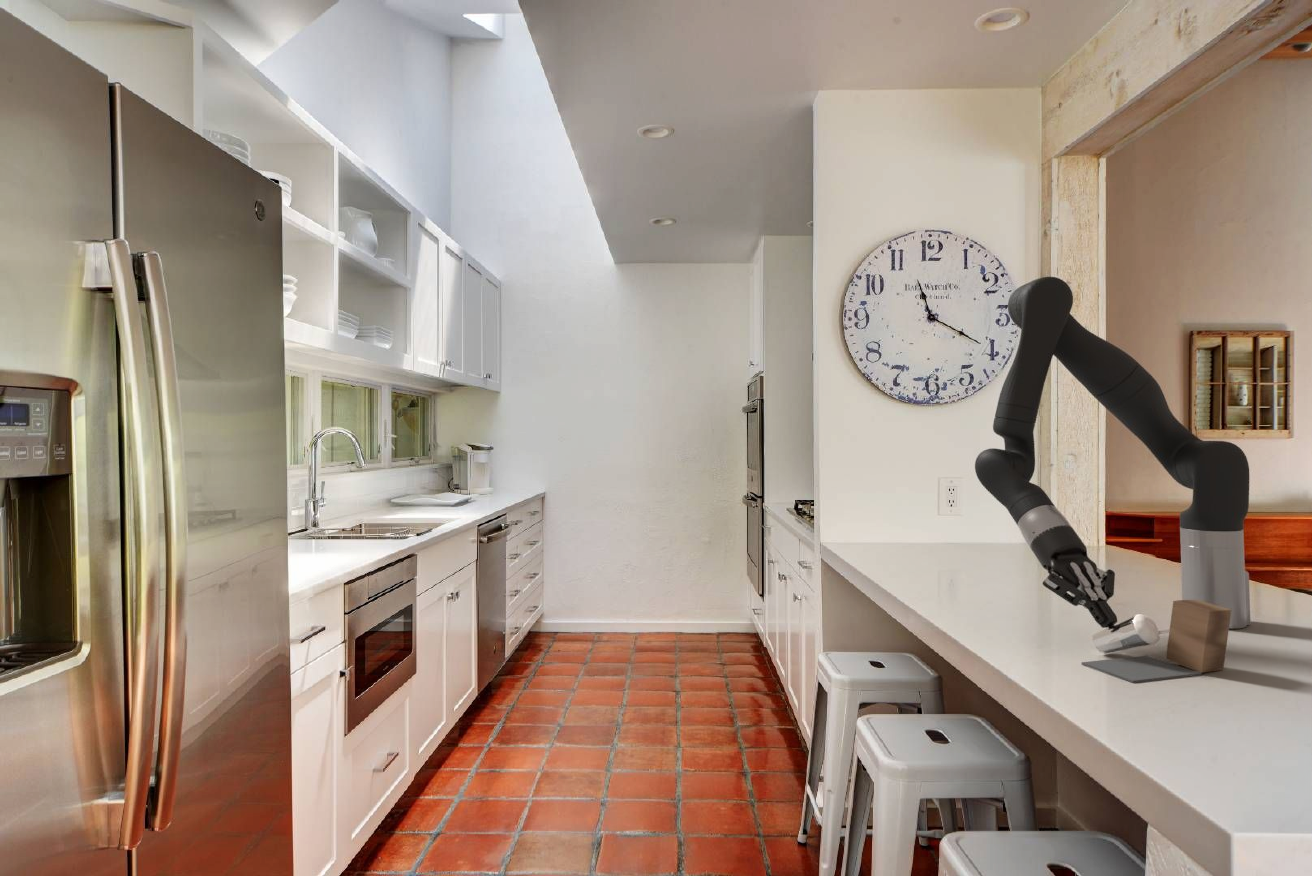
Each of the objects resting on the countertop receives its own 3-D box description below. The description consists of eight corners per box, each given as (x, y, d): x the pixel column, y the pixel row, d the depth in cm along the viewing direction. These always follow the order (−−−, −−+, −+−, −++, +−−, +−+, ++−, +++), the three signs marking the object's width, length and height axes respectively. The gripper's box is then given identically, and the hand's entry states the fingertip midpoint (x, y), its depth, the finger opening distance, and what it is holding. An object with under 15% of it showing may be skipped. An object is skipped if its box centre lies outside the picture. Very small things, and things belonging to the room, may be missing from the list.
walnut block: (1187, 657, 111) (1194, 599, 110) (1223, 669, 106) (1231, 609, 105) (1165, 659, 109) (1173, 600, 108) (1201, 672, 104) (1209, 611, 103)
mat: (1146, 657, 113) (1146, 655, 113) (1201, 674, 104) (1201, 672, 104) (1081, 664, 110) (1081, 662, 110) (1132, 682, 101) (1132, 680, 101)
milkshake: (1117, 662, 115) (1177, 645, 107) (1092, 653, 114) (1151, 635, 106) (1110, 634, 118) (1169, 616, 110) (1086, 626, 116) (1143, 606, 109)
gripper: (1028, 525, 122) (1087, 614, 110) (1094, 522, 125) (1160, 609, 113) (1007, 552, 127) (1062, 640, 115) (1071, 548, 130) (1131, 634, 118)
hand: (1110, 624), depth 114 cm, fingers closed
